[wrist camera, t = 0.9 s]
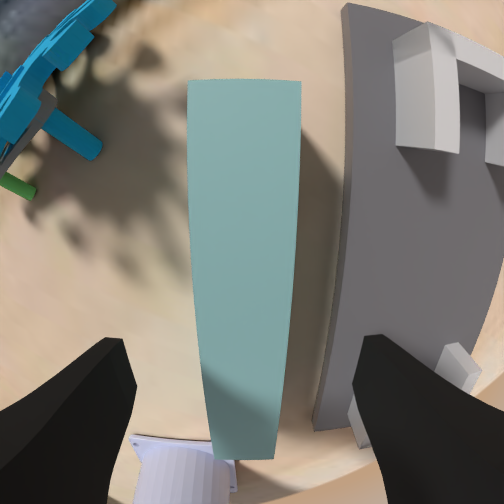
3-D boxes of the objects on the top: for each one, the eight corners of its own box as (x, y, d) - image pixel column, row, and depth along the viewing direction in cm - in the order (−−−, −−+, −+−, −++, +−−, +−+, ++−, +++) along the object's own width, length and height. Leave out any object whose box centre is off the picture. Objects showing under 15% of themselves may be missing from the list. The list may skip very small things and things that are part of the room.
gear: (110, -33, 7) (42, 29, 3) (176, 42, 12) (205, 176, 8) (-22, 111, 10) (-80, 264, 6) (42, 152, 15) (22, 299, 11)
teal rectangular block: (267, 393, 17) (273, 459, 13) (218, 393, 17) (214, 459, 12) (279, 104, 12) (301, 81, 7) (208, 103, 12) (188, 80, 7)
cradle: (441, 395, 18) (462, 429, 15) (311, 420, 18) (321, 466, 14) (503, 66, 10) (548, 62, 6) (340, 10, 10) (372, -27, 6)
